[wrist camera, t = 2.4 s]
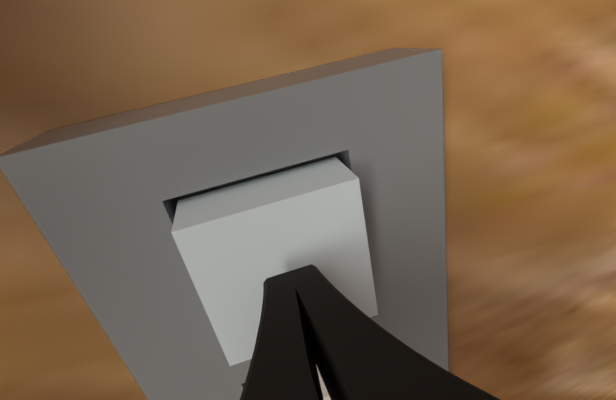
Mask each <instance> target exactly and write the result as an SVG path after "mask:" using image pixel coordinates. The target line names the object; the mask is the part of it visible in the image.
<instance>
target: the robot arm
mask: <svg viewBox="0 0 616 400" xmlns="http://www.w3.org/2000/svg"><path fill="white" fill-rule="evenodd" d="M316 365H317V367H316ZM317 368H318V370H319V372H320V375H321V377H322V380H323V382H324V384H325V387H326V389H327V391H328V394H329V396H330V399H331V400H500V399H498V398H496V397H494V396H492V395H491V394H489V393H487V392H485V391H483V390H481V389H479V388H477V387H475V386H474V385H472V384H470V383H468V382H466V381H464V380H462V379H460V378H459V377H457V376H455V375H453V374H452V373H450V372H448V371H447V370H445V369H443V368H442V367H440V366H438V365H437V364H435V363H433V362H432V361H430V360H429V359H427V358H426V357H424V356H422V355H421V354H419V353H418V352H416V351H415V350H413V349H412V348H410V347H409V346H407V345H406V344H404V343H403V342H401V341H400V340H399V339H397V338H396V337H394V336H393V335H392V334H390V333H389V332H388V331H386V330H385V329H384V328H382V327H381V326H380V325H378V324H377V323H376V322H374V321H373V320H372V319H371V318H369V317H368V316H367V315H366V314H364V313H363V312H362V311H361V310H360V309H359V308H357V307H356V306H355V305H354V304H353V303H352V302H350V301H349V300H348V299H347V298H346V297H345V296H344V295H343V294H342V293H340V292H339V291H338V290H337V289H336V288H335V287H334V286H333V285H332V284H331V283H330V282H329V281H328V280H327V279H326V277H325V276H324V275H323V274H322V273H321V272H320V271H319V269H318V268H317V267H316V266H314V265H312V264H310V265H307V266H304V267H301V268H298V269H295V270H291V271H288V272H285V273H282V274H279V275H276V276H272V277H269V278H266V280H265V281H264V283H263V303H262V310H261V317H260V323H259V328H258V333H257V338H256V343H255V347H254V351H253V355H252V359H251V362H250V366H249V370H248V374H247V377H246V381H245V384H244V388H243V391H242V394H241V397H240V400H324V399H323V394H322V390H321V385H320V380H319V376H318V371H317Z"/></svg>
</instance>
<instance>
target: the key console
mask: <svg viewBox="0 0 616 400" xmlns="http://www.w3.org/2000/svg"><path fill="white" fill-rule="evenodd" d="M333 157H336V158H337V159H338V160H340V161H341V162H342V163H343V164H344V165H345V166H346V167H347V168H348V169H349V170H350V171H352V172H353V173H354V174H355V175H356V176H357V177H358V178H359V183H360V190H361V197H362V204H363V211H364V218H365V225H366V232H367V239H368V246H369V254H370V261H371V268H372V275H373V282H374V289H375V296H376V303H377V310H378V315H376V316H373V317H370V318H371V319H372V320H373V321H374V322H376V323H377V324H378V325H380V326H381V327H382V328H384V329H385V330H386V331H388V332H389V333H390V334H392V335H393V336H394V337H396V338H397V339H399V340H400V341H401V342H403V343H404V344H406V345H407V346H409V347H410V348H412V349H413V350H415V351H416V352H418V353H419V354H421V355H422V356H424V357H426V358H427V359H429V360H430V361H432V362H433V363H435V364H437V365H438V366H440V367H442V368H443V369H445V370H447V371H448V372H449V362H448V316H447V270H446V224H445V178H444V132H443V86H442V49H417V48H392V49H388V50H384V51H379V52H375V53H371V54H367V55H363V56H358V57H354V58H350V59H346V60H342V61H337V62H333V63H329V64H325V65H321V66H317V67H312V68H308V69H304V70H300V71H296V72H291V73H287V74H283V75H279V76H275V77H270V78H266V79H262V80H258V81H254V82H250V83H245V84H241V85H237V86H233V87H229V88H224V89H220V90H216V91H212V92H208V93H203V94H199V95H195V96H191V97H187V98H182V99H178V100H174V101H170V102H166V103H162V104H157V105H153V106H149V107H145V108H141V109H136V110H132V111H128V112H124V113H120V114H115V115H111V116H107V117H103V118H99V119H94V120H90V121H86V122H82V123H78V124H74V125H69V126H65V127H61V128H57V129H53V130H48V131H45V132H44V133H42V134H40V135H38V136H36V137H34V138H32V139H30V140H28V141H26V142H24V143H22V144H20V145H18V146H16V147H14V148H13V149H11V150H9V151H7V152H5V153H3V154H1V155H0V169H1V170H2V172H3V174H4V175H5V177H6V178H7V180H8V181H9V183H10V185H11V186H12V188H13V189H14V191H15V192H16V194H17V196H18V197H19V199H20V200H21V202H22V203H23V205H24V207H25V208H26V210H27V211H28V213H29V214H30V216H31V218H32V219H33V221H34V222H35V224H36V225H37V227H38V228H39V230H40V232H41V233H42V235H43V236H44V238H45V239H46V241H47V243H48V244H49V246H50V247H51V249H52V250H53V252H54V254H55V255H56V257H57V258H58V260H59V261H60V263H61V265H62V266H63V268H64V269H65V271H66V272H67V274H68V276H69V277H70V279H71V280H72V282H73V283H74V285H75V287H76V288H77V290H78V291H79V293H80V294H81V296H82V297H83V299H84V301H85V302H86V304H87V305H88V307H89V308H90V310H91V312H92V313H93V315H94V316H95V318H96V319H97V321H98V323H99V324H100V326H101V327H102V329H103V330H104V332H105V334H106V335H107V337H108V338H109V340H110V341H111V343H112V345H113V346H114V348H115V349H116V351H117V352H118V354H119V355H120V357H121V359H122V360H123V362H124V363H125V365H126V366H127V368H128V370H129V371H130V373H131V374H132V376H133V377H134V379H135V381H136V382H137V384H138V385H139V387H140V388H141V390H142V392H143V393H144V395H145V396H146V398H147V399H148V400H240V397H241V394H242V391H243V388H244V384H245V381H246V377H247V374H248V370H249V366H250V362H251V359H249V360H247V361H244V362H241V363H238V364H235V365H232V366H230V365H229V363H228V361H227V359H226V356H225V354H224V352H223V349H222V347H221V345H220V343H219V340H218V338H217V336H216V334H215V331H214V329H213V327H212V324H211V322H210V320H209V318H208V315H207V313H206V311H205V309H204V306H203V304H202V302H201V299H200V297H199V295H198V293H197V290H196V288H195V286H194V284H193V281H192V279H191V277H190V274H189V272H188V270H187V268H186V265H185V263H184V261H183V259H182V256H181V254H180V252H179V249H178V247H177V245H176V243H175V240H174V238H173V236H172V234H171V230H172V226H173V221H174V217H175V212H176V208H177V204H178V200H182V199H185V198H189V197H192V196H196V195H200V194H203V193H207V192H210V191H214V190H218V189H221V188H225V187H228V186H232V185H236V184H239V183H243V182H246V181H250V180H254V179H257V178H261V177H264V176H268V175H272V174H275V173H279V172H282V171H286V170H290V169H293V168H297V167H300V166H304V165H308V164H311V163H315V162H318V161H322V160H326V159H329V158H333Z"/></svg>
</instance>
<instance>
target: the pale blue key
mask: <svg viewBox="0 0 616 400" xmlns="http://www.w3.org/2000/svg"><path fill="white" fill-rule="evenodd" d="M171 234H172V236H173V238H174V240H175V243H176V245H177V247H178V249H179V252H180V254H181V256H182V259H183V261H184V263H185V265H186V268H187V270H188V272H189V274H190V277H191V279H192V281H193V284H194V286H195V288H196V290H197V293H198V295H199V297H200V299H201V302H202V304H203V306H204V309H205V311H206V313H207V315H208V318H209V320H210V322H211V324H212V327H213V329H214V331H215V334H216V336H217V338H218V340H219V343H220V345H221V347H222V349H223V352H224V354H225V356H226V359H227V361H228V363H229V365H230V366H232V365H235V364H238V363H241V362H244V361H247V360H249V359H252V355H253V351H254V347H255V343H256V338H257V333H258V328H259V323H260V317H261V310H262V303H263V283H264V281H265V280H266V278H269V277H272V276H276V275H279V274H282V273H285V272H288V271H291V270H295V269H298V268H301V267H304V266H307V265H310V264H312V265H314V266H316V267H317V268H318V269H319V271H320V272H321V273H322V274H323V275H324V276H325V277H326V279H327V280H328V281H329V282H330V283H331V284H332V285H333V286H334V287H335V288H336V289H337V290H338V291H339V292H340V293H342V294H343V295H344V296H345V297H346V298H347V299H348V300H349V301H350V302H352V303H353V304H354V305H355V306H356V307H357V308H359V309H360V310H361V311H362V312H363V313H364V314H366V315H367V316H368V317H369V318H370V317H373V316H376V315H378V310H377V303H376V296H375V289H374V282H373V275H372V268H371V261H370V254H369V246H368V239H367V232H366V225H365V218H364V211H363V204H362V197H361V190H360V183H359V178H358V177H357V176H356V175H355V174H354V173H353V172H352V171H350V170H349V169H348V168H347V167H346V166H345V165H344V164H343V163H342V162H341V161H340V160H338V159H337V158H336V157H333V158H329V159H326V160H322V161H318V162H315V163H311V164H308V165H304V166H300V167H297V168H293V169H290V170H286V171H282V172H279V173H275V174H272V175H268V176H264V177H261V178H257V179H254V180H250V181H246V182H243V183H239V184H236V185H232V186H228V187H225V188H221V189H218V190H214V191H210V192H207V193H203V194H200V195H196V196H192V197H189V198H185V199H182V200H178V204H177V208H176V212H175V217H174V221H173V226H172V230H171Z"/></svg>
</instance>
